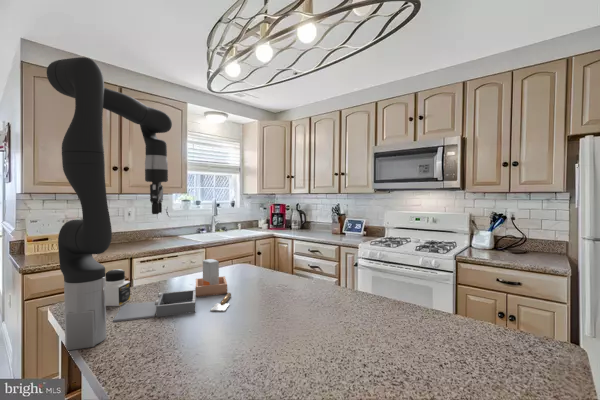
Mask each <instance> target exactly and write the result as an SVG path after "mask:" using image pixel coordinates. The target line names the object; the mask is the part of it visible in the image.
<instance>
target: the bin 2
mask: <svg viewBox="0 0 600 400" xmlns="http://www.w3.org/2000/svg"><path fill="white" fill-rule="evenodd" d="M195 290H196V298H202V297H211V296H220V295H227V294H228V282H227V280H226V276H219V284H216V285H205V286H203V277H201V278H195Z"/></svg>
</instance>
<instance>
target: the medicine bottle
mask: <svg viewBox="0 0 600 400" xmlns="http://www.w3.org/2000/svg"><path fill="white" fill-rule="evenodd" d="M125 275H126V273H125V270H123V269H121V268H120V269H117V268H116V269H112V270H109V271H105V280H106V307H120V306H123V305H125V303H127V302H128V301H130V300H131V281H130V280H126V276H125Z"/></svg>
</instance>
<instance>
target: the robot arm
mask: <svg viewBox="0 0 600 400" xmlns="http://www.w3.org/2000/svg"><path fill="white" fill-rule="evenodd" d="M46 78H47V80H48V82H49V84H50V85H51V86H52V88H53V89H54V90H55V91H57V92H58V93H59V94H62V95H63V96H67V97H70V98H73V99H74V100H75V102H74V104H75V106H74V107H75V108H74V114H73V117H72V120H71V122H70V124H69V125H68V128H67V130H66V132H65V134H64V137H63V139H62V143H61V161H62V170H63V171H62V172H63V174H64V176H65V178H66V180H67V182H68V183H69V184H70V186H71V188H72V189H73V190H74V193H76V196H77V197H78V199H79V202H80V206H81V212H82V219H72V220H68V221H67V222H65V223H64V224H63V225H62V226H61V228H60V229H59V233H58V237H57V248H58V260H59V268H60V271H61V273H62V275H63V279H64V281H63V283H64V284H63V288H64V289H63V291H64V294H63V295H64V297H63V298H64V299H63V300H64V343H65V344H64V346H65V348H66V351H71V350H72V351H73V350H80V349H87V348H94V347H95V346H96V345H97V344H100V343H101V342H103V341H105V340H106V338H107V306H106V284H107V283H106V268H105V266H104V265H103V264H101V263H100V262H98V261H97V260H96V259H95V258H94V257H93V255H100V254H103V253H105V252H106V251H107V250H108V249H109V247H110V245H111V242H112V236H113V231H112V224H111V217H110V212H109V205H108V198H107V188H106V175H105V173H106V167H105V166H106V165H105V163H106V161H105V149H104V133H103V132H104V131H103V129H104V128H103V116H104V115H103V111H104V109H105V111H106V110H107V111H109V112H112V113H113V114H116V115H118V116H120V117H122V118H124V119H126V120H128V121H130V122H131V123H133V124H136V125H139V126H140V130H141V134H142V138H143V140H144V144H145V148H144V149H145V158H144V159H145V160H144V181H145V182H147V183H150V185H149V195H150V196H149V201H150V203H151V214H152V215H158V214H159V213H162V212H163V210H162V209H163V208H162V207H163V206H162V203H163V202H164V201H163V200H164V199H163V198H164V186H163V185H162V183H168V181H169V174H168V172H169V169H168V168H169V167H168V165H169V163H168V162H169V161H168V148H167V147H168V145H167V144H168V143H167V142H166V141H165V140H163V139H159V138H158V137H157V135H156V134H164V133H168V132H169V131H170V130H171V129H172V127H173V121H172V120H171V117H170V116H169V115H168V114H167V113H166V112H165V111H164V112H163V110H162V111H161V110H160V109H156V108H154V107H152V106H151V107H150V106H148V105H145V104H144V103H143V102H141V101H139V100H138V99H136V98H134V97H133V96H130V95H127V94H126V93H123V92H119V91H116V90H113V89H110V88H107V87H105V79H104V74H103V72H102V69H101V68H100V66H99V64H97V62H96V61H94V60H93V59H92V58H90V57H84V56H83V57H81V56H80V57H71V58H70V57H69V58H64V59H63V58H62V59H58V60H54V61H52V62H50V64H48V66H47V69H46Z"/></svg>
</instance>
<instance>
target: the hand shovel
mask: <svg viewBox="0 0 600 400" xmlns="http://www.w3.org/2000/svg"><path fill="white" fill-rule="evenodd" d="M231 297H232V294H231V292H227V294H225V295H224V297H223V299H222V300H221V301H220V303H214V305H213V306H212V308H211V309H210V310H209V311H210V312H213V313H214V312H215V313H221V312H223V313H225V312H226V311H227V310H228V309H229V307H230V304H231V303H227V302H228V300H229V299H230V298H231Z"/></svg>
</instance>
